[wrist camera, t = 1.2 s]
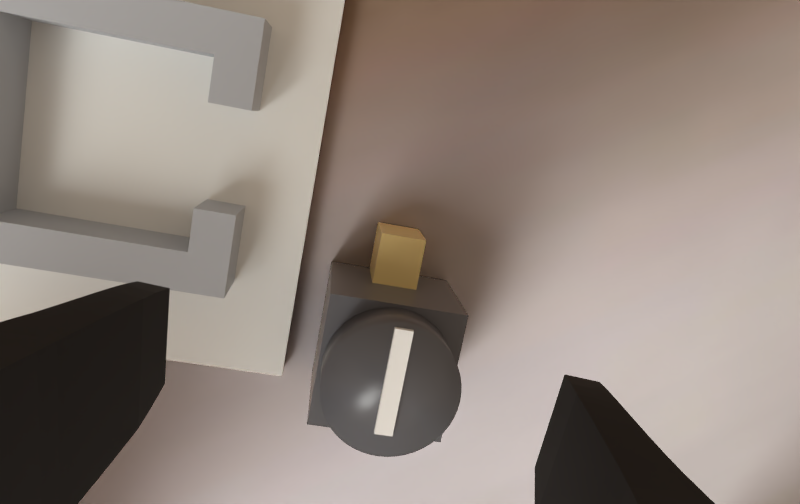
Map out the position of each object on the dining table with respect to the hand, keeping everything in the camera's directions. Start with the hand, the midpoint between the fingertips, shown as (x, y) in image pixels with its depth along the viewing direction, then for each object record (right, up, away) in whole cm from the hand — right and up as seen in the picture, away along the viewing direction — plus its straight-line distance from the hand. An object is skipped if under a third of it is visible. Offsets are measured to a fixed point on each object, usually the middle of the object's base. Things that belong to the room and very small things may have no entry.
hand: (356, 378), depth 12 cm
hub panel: (-8, +6, +9) cm, 13 cm away
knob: (0, 0, +11) cm, 11 cm away
